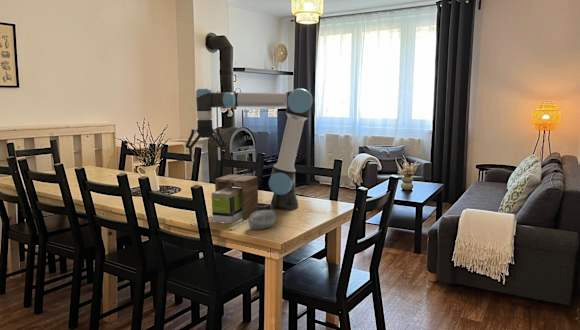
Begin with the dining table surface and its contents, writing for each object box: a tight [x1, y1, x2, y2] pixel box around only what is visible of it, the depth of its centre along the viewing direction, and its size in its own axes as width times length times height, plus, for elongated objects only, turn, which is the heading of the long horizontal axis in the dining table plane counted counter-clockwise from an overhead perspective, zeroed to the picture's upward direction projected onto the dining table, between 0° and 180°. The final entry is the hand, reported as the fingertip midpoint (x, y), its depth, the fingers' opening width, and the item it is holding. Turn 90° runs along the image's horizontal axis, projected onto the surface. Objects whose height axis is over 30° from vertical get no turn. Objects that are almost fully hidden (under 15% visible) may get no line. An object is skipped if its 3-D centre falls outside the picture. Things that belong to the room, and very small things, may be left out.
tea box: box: [211, 187, 243, 224], centre depth 221 cm, size 15×10×15 cm
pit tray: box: [258, 202, 272, 211], centre depth 241 cm, size 22×7×3 cm, turn 66°
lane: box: [190, 215, 249, 230], centre depth 215 cm, size 23×16×1 cm
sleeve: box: [214, 174, 259, 221], centre depth 228 cm, size 16×14×19 cm
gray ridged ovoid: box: [247, 209, 277, 231], centre depth 207 cm, size 14×10×10 cm
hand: (206, 160), depth 233 cm, fingers open, 13 cm apart
